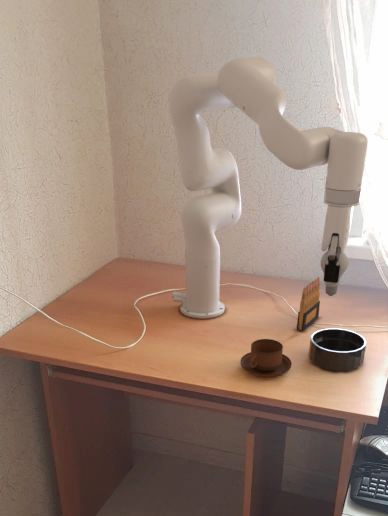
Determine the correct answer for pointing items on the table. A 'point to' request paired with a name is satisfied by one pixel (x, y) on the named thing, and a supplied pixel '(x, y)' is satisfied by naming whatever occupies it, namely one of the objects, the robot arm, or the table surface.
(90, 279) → the table surface
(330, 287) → the lightbulb
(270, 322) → the table surface
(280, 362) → the cup and saucer
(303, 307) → the ammunition clip
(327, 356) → the bowl
